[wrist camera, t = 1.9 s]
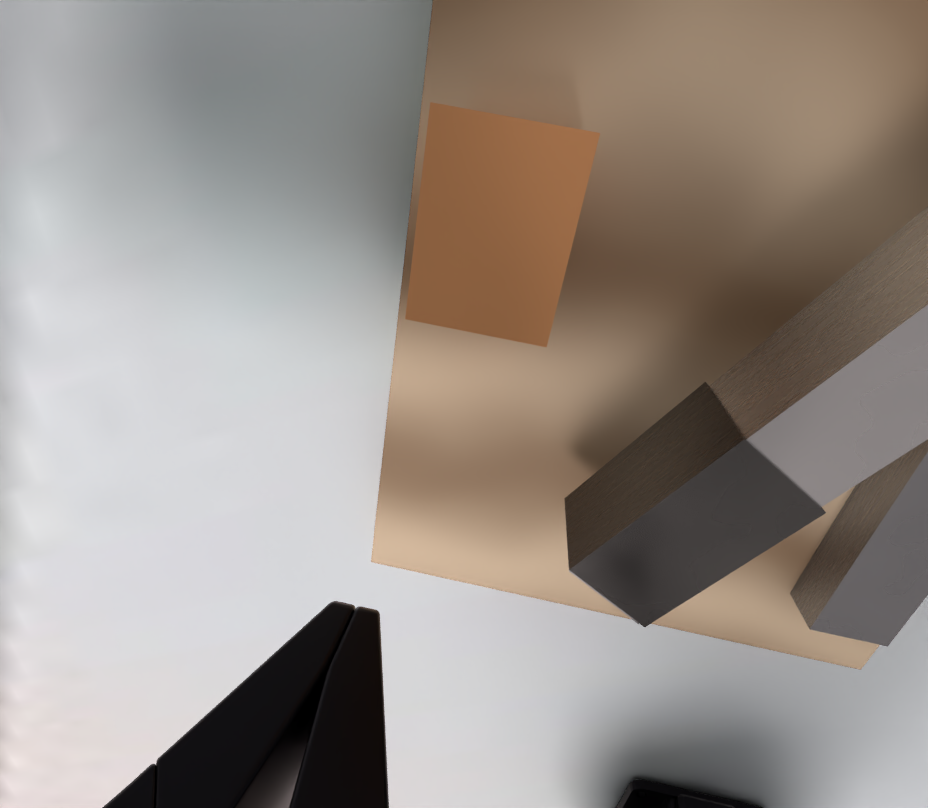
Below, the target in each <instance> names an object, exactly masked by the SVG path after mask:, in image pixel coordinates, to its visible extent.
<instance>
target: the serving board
mask: <svg viewBox="0 0 928 808" xmlns="http://www.w3.org/2000/svg"><path fill="white" fill-rule="evenodd" d="M430 102H433V103H438V104H444V105H449V106H455V107H460V108H466V109H471V110H477V111H482V112H488V113H493V114H499V115H504V116H510V117H515V118H520V119H526V120H531V121H537V122H542V123H548V124H553V125H559V126H564V127H570V128H575V129H581V130H586V131H592V132H597V133H600V136H599V140H598V144H597V148H596V152H595V156H594V160H593V164H592V168H591V172H590V176H589V180H588V184H587V188H586V192H585V196H584V200H583V204H582V208H581V212H580V216H579V220H578V224H577V228H576V232H575V236H574V240H573V244H572V248H571V252H570V256H569V260H568V264H567V268H566V272H565V276H564V280H563V284H562V288H561V292H560V296H559V300H558V304H557V308H556V312H555V316H554V320H553V324H552V328H551V332H550V336H549V340H548V344H547V347H542V346H537V345H532V344H527V343H522V342H517V341H512V340H507V339H502V338H497V337H492V336H487V335H482V334H477V333H472V332H467V331H462V330H457V329H452V328H447V327H442V326H437V325H432V324H427V323H422V322H417V321H412V320H407V319H405V315H406V307H407V298H408V290H409V281H410V273H411V264H412V255H413V247H414V238H415V230H416V221H417V212H418V204H419V195H420V187H421V178H422V170H423V161H424V152H425V144H426V135H427V127H428V118H429V110H430ZM927 207H928V0H433V4H432V13H431V22H430V31H429V40H428V49H427V59H426V68H425V77H424V86H423V95H422V104H421V113H420V122H419V131H418V140H417V149H416V158H415V168H414V177H413V186H412V195H411V204H410V213H409V222H408V231H407V240H406V249H405V258H404V267H403V277H402V286H401V295H400V304H399V313H398V322H397V331H396V340H395V349H394V358H393V367H392V376H391V385H390V395H389V404H388V413H387V422H386V431H385V440H384V449H383V458H382V467H381V476H380V485H379V494H378V504H377V513H376V522H375V531H374V540H373V549H372V558H371V562H374V563H378V564H383V565H387V566H392V567H396V568H401V569H406V570H410V571H415V572H419V573H424V574H428V575H433V576H437V577H442V578H446V579H451V580H455V581H460V582H465V583H469V584H474V585H478V586H483V587H487V588H492V589H496V590H501V591H505V592H510V593H515V594H519V595H524V596H528V597H533V598H537V599H542V600H546V601H551V602H555V603H560V604H565V605H569V606H574V607H578V608H583V609H587V610H592V611H596V612H601V613H605V614H610V615H614V616H619V617H624V618H628V619H631V618H630V617H628V616H627V615H626V614H624V613H623V612H622V611H621V610H619V609H618V608H617V607H615V606H614V605H613V604H611V603H610V602H609V601H607V600H606V599H605V598H603V597H602V596H601V595H599V594H598V593H597V592H595V591H594V590H593V589H591V588H590V587H589V586H588V585H586V584H585V583H584V582H582V581H581V580H580V579H578V578H577V577H576V576H574V575H573V574H572V573H570V572H569V564H568V549H567V533H566V518H565V499H564V498H565V497H567V496H568V495H569V494H570V493H572V492H573V491H574V490H575V489H576V488H578V487H579V486H580V485H581V484H582V483H584V482H585V481H586V480H587V479H588V478H590V477H591V476H592V475H593V474H594V473H596V472H597V471H598V470H599V469H601V468H602V467H603V466H604V465H605V464H607V463H608V462H609V461H610V460H611V459H613V458H614V457H615V456H616V455H617V454H619V453H620V452H621V451H622V450H623V449H625V448H626V447H627V446H628V445H630V444H631V443H632V442H633V441H634V440H636V439H637V438H638V437H639V436H640V435H642V434H643V433H644V432H645V431H646V430H648V429H649V428H650V427H651V426H652V425H654V424H655V423H656V422H657V421H659V420H660V419H661V418H662V417H663V416H665V415H666V414H667V413H668V412H669V411H671V410H672V409H673V408H674V407H675V406H677V405H678V404H679V403H680V402H681V401H683V400H684V399H685V398H686V397H688V396H689V395H690V394H691V393H692V392H694V391H695V390H696V389H697V388H698V387H700V386H701V385H702V384H703V383H704V382H706V383H707V384H708V385H709V386H710V385H711V384H712V383H713V382H714V381H716V380H717V379H718V378H719V377H721V376H722V375H723V374H724V373H725V372H727V371H728V370H729V369H730V368H732V367H733V366H734V365H735V364H736V363H738V362H739V361H740V360H741V359H743V358H744V357H745V356H746V355H747V354H749V353H750V352H751V351H752V350H753V349H755V348H756V347H757V346H758V345H760V344H761V343H762V342H763V341H764V340H766V339H767V338H768V337H769V336H771V335H772V334H773V333H774V332H775V331H777V330H778V329H779V328H780V327H782V326H783V325H784V324H785V323H786V322H788V321H789V320H790V319H791V318H792V317H794V316H795V315H796V314H797V313H799V312H800V311H801V310H802V309H803V308H805V307H806V306H807V305H808V304H810V303H811V302H812V301H813V300H814V299H816V298H817V297H818V296H819V295H821V294H822V293H823V292H824V291H825V290H827V289H828V288H829V287H830V286H831V285H833V284H834V283H835V282H836V281H838V280H839V279H840V278H841V277H842V276H844V275H845V274H846V273H847V272H849V271H850V270H851V269H852V268H853V267H855V266H856V265H857V264H858V263H860V262H861V261H862V260H863V259H864V258H866V257H867V256H868V255H869V254H870V253H872V252H873V251H874V250H875V249H877V248H878V247H879V246H880V245H881V244H883V243H884V242H885V241H886V240H888V239H889V238H890V237H891V236H892V235H894V234H895V233H896V232H897V231H899V230H900V229H901V228H902V227H903V226H905V225H906V224H907V223H908V222H909V221H911V220H912V219H913V218H914V217H916V216H917V215H918V214H919V213H920V212H922V211H923V210H924V209H925V208H927ZM855 486H856V485H855ZM855 486H854V487H852V488H851V489H849V490H847V491H846V492H844V493H843V494H841V495H840V496H838V497H836V498H835V499H833V500H832V501H830V502H829V503H827V504H826V505H824V506H822V508H823V509H824V511H825V512H826V513H825V514H824V515H822V516H821V517H819V518H817V519H816V520H814V521H813V522H811V523H810V524H808V525H806V526H805V527H803V528H802V529H800V530H798V531H797V532H795V533H794V534H792V535H790V536H789V537H787V538H786V539H784V540H783V541H781V542H779V543H778V544H776V545H775V546H773V547H771V548H770V549H768V550H767V551H765V552H763V553H762V554H760V555H759V556H757V557H756V558H754V559H752V560H751V561H749V562H748V563H746V564H744V565H743V566H741V567H740V568H738V569H737V570H735V571H733V572H732V573H730V574H729V575H727V576H725V577H724V578H722V579H721V580H719V581H717V582H716V583H714V584H713V585H711V586H710V587H708V588H706V589H705V590H703V591H702V592H700V593H698V594H697V595H695V596H694V597H692V598H690V599H689V600H687V601H686V602H684V603H683V604H681V605H679V606H678V607H676V608H675V609H673V610H671V611H670V612H668V613H667V614H665V615H664V616H662V617H660V618H659V619H657V620H656V621H654V622H652V623H651V624H655V625H660V626H664V627H669V628H674V629H678V630H683V631H687V632H692V633H696V634H701V635H705V636H710V637H714V638H719V639H724V640H728V641H733V642H737V643H742V644H746V645H751V646H755V647H760V648H764V649H769V650H773V651H778V652H783V653H787V654H792V655H796V656H801V657H805V658H810V659H814V660H819V661H823V662H828V663H833V664H837V665H842V666H846V667H851V668H855V669H860V670H861V669H862V667H863V666H864V665H865V663H866V662H867V661H868V660H869V658H870V657H871V656H872V654H873V653H874V652H875V650H876V649H877V648H878V647H879V644H874V643H870V642H865V641H860V640H856V639H851V638H847V637H842V636H837V635H833V634H828V633H824V632H819V631H814V630H810V629H809V627H808V626H807V624H806V622H805V620H804V618H803V616H802V615H801V613H800V611H799V609H798V607H797V606H796V604H795V602H794V600H793V598H792V596H791V595H790V592H791V590H792V589H793V587H794V586H795V584H796V582H797V581H798V579H799V577H800V576H801V574H802V572H803V571H804V569H805V568H806V566H807V564H808V563H809V561H810V559H811V558H812V556H813V554H814V553H815V551H816V550H817V548H818V546H819V545H820V543H821V541H822V540H823V538H824V537H825V535H826V533H827V532H828V530H829V528H830V527H831V525H832V523H833V522H834V520H835V519H836V517H837V515H838V514H839V512H840V510H841V509H842V507H843V506H844V504H845V502H846V501H847V499H848V497H849V496H850V494H851V492H852V491H853V489H854V488H855Z"/></svg>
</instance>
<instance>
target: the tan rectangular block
mask: <svg viewBox="0 0 928 808" xmlns="http://www.w3.org/2000/svg"><path fill="white" fill-rule="evenodd" d="M599 136H600V133H597V132H592V131H586V130H581V129H575V128H570V127H564V126H559V125H553V124H548V123H542V122H537V121H531V120H526V119H520V118H515V117H510V116H504V115H499V114H493V113H488V112H482V111H477V110H471V109H466V108H460V107H455V106H449V105H444V104H438V103H433V102H430V110H429V118H428V127H427V135H426V144H425V152H424V161H423V170H422V178H421V187H420V195H419V204H418V212H417V221H416V230H415V238H414V247H413V255H412V264H411V273H410V281H409V290H408V298H407V307H406V315H405V319H407V320H412V321H417V322H422V323H427V324H432V325H437V326H442V327H447V328H452V329H457V330H462V331H467V332H472V333H477V334H482V335H487V336H492V337H497V338H502V339H507V340H512V341H517V342H522V343H527V344H532V345H537V346H542V347H547V344H548V340H549V336H550V332H551V328H552V324H553V320H554V316H555V312H556V308H557V304H558V300H559V296H560V292H561V288H562V284H563V280H564V276H565V272H566V268H567V264H568V260H569V256H570V252H571V248H572V244H573V240H574V236H575V232H576V228H577V224H578V220H579V216H580V212H581V208H582V204H583V200H584V196H585V192H586V188H587V184H588V180H589V176H590V172H591V168H592V164H593V160H594V156H595V152H596V148H597V144H598V140H599Z"/></svg>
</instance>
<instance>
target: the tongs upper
mask: <svg viewBox="0 0 928 808" xmlns="http://www.w3.org/2000/svg"><path fill="white" fill-rule="evenodd" d="M927 439H928V207H927V208H925V209H924V210H923V211H922V212H920V213H919V214H918V215H917V216H916V217H914V218H913V219H912V220H911V221H909V222H908V223H907V224H906V225H905V226H903V227H902V228H901V229H900V230H899V231H897V232H896V233H895V234H894V235H892V236H891V237H890V238H889V239H888V240H886V241H885V242H884V243H883V244H881V245H880V246H879V247H878V248H877V249H875V250H874V251H873V252H872V253H870V254H869V255H868V256H867V257H866V258H864V259H863V260H862V261H861V262H860V263H858V264H857V265H856V266H855V267H853V268H852V269H851V270H850V271H849V272H847V273H846V274H845V275H844V276H842V277H841V278H840V279H839V280H838V281H836V282H835V283H834V284H833V285H831V286H830V287H829V288H828V289H827V290H825V291H824V292H823V293H822V294H821V295H819V296H818V297H817V298H816V299H814V300H813V301H812V302H811V303H810V304H808V305H807V306H806V307H805V308H803V309H802V310H801V311H800V312H799V313H797V314H796V315H795V316H794V317H792V318H791V319H790V320H789V321H788V322H786V323H785V324H784V325H783V326H782V327H780V328H779V329H778V330H777V331H775V332H774V333H773V334H772V335H771V336H769V337H768V338H767V339H766V340H764V341H763V342H762V343H761V344H760V345H758V346H757V347H756V348H755V349H753V350H752V351H751V352H750V353H749V354H747V355H746V356H745V357H744V358H743V359H741V360H740V361H739V362H738V363H736V364H735V365H734V366H733V367H732V368H730V369H729V370H728V371H727V372H725V373H724V374H723V375H722V376H721V377H719V378H718V379H717V380H716V381H714V382H713V383H712V384H711V385H710V386H709V385H708V384H707V383H706V382H704V383H703V384H702V385H701V386H700V387H698V388H697V389H696V390H695V391H694V392H692V393H691V394H690V395H689V396H688V397H686V398H685V399H684V400H683V401H681V402H680V403H679V404H678V405H677V406H675V407H674V408H673V409H672V410H671V411H669V412H668V413H667V414H666V415H665V416H663V417H662V418H661V419H660V420H659V421H657V422H656V423H655V424H654V425H652V426H651V427H650V428H649V429H648V430H646V431H645V432H644V433H643V434H642V435H640V436H639V437H638V438H637V439H636V440H634V441H633V442H632V443H631V444H630V445H628V446H627V447H626V448H625V449H623V450H622V451H621V452H620V453H619V454H617V455H616V456H615V457H614V458H613V459H611V460H610V461H609V462H608V463H607V464H605V465H604V466H603V467H602V468H601V469H599V470H598V471H597V472H596V473H594V474H593V475H592V476H591V477H590V478H588V479H587V480H586V481H585V482H584V483H582V484H581V485H580V486H579V487H578V488H576V489H575V490H574V491H573V492H572V493H570V494H569V495H568V496H567V497H565V498H564V499H565V518H566V533H567V549H568V564H569V572H570V573H572V574H573V575H574V576H576V577H577V578H578V579H580V580H581V581H582V582H584V583H585V584H586V585H588V586H589V587H590V588H591V589H593V590H594V591H595V592H597V593H598V594H599V595H601V596H602V597H603V598H605V599H606V600H607V601H609V602H610V603H611V604H613V605H614V606H615V607H617V608H618V609H619V610H621V611H622V612H623V613H624V614H626V615H627V616H628V617H630V618H631V619H632V620H634V621H635V622H636V623H638V624H639V623H640V624H641V625H642V626H644V627H646V626H648V625H649V624H651V623H652V622H654V621H656V620H657V619H659V618H660V617H662V616H664V615H665V614H667V613H668V612H670V611H671V610H673V609H675V608H676V607H678V606H679V605H681V604H683V603H684V602H686V601H687V600H689V599H690V598H692V597H694V596H695V595H697V594H698V593H700V592H702V591H703V590H705V589H706V588H708V587H710V586H711V585H713V584H714V583H716V582H717V581H719V580H721V579H722V578H724V577H725V576H727V575H729V574H730V573H732V572H733V571H735V570H737V569H738V568H740V567H741V566H743V565H744V564H746V563H748V562H749V561H751V560H752V559H754V558H756V557H757V556H759V555H760V554H762V553H763V552H765V551H767V550H768V549H770V548H771V547H773V546H775V545H776V544H778V543H779V542H781V541H783V540H784V539H786V538H787V537H789V536H790V535H792V534H794V533H795V532H797V531H798V530H800V529H802V528H803V527H805V526H806V525H808V524H810V523H811V522H813V521H814V520H816V519H817V518H819V517H821V516H822V515H824V514H825V513H826V512H825V511H824V509H823V508H822V506H824V505H826V504H827V503H829V502H830V501H832V500H833V499H835V498H836V497H838V496H840V495H841V494H843V493H844V492H846V491H847V490H849V489H851V488H852V487H854V486H855V485H857V484H858V483H860V482H862V481H863V480H865V479H866V478H868V477H869V476H871V475H873V474H874V473H876V472H877V471H879V470H880V469H882V468H884V467H885V466H887V465H888V464H890V463H891V462H893V461H894V460H896V459H898V458H899V457H901V456H902V455H904V454H905V453H907V452H909V451H910V450H912V449H913V448H915V447H916V446H918V445H920V444H921V443H923V442H924V441H926V440H927Z"/></svg>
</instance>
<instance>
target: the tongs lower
mask: <svg viewBox="0 0 928 808" xmlns="http://www.w3.org/2000/svg"><path fill="white" fill-rule="evenodd" d="M790 595H791V596H792V598H793V600H794V602H795V604H796V606H797V607H798V609H799V611H800V613H801V615H802V616H803V618H804V620H805V622H806V624H807V626H808V627H809V629H810V630H814V631H819V632H824V633H828V634H833V635H837V636H842V637H847V638H851V639H856V640H860V641H865V642H870V643H874V644H879V645H883V646H888V645H889V644H890V642H891V641H892V640H893V639H894V637H895V636H896V635H897V633H898V632H899V631H900V630H901V628H902V627H903V626H904V624H905V623H906V622H907V621H908V619H909V618H910V617H911V615H912V614H913V613H914V612H915V610H916V609H917V608H918V606H919V605H920V604H921V603H922V601H923V600H924V599H925V597H926V596H927V595H928V439H927V440H926V441H924V442H923V443H921V444H920V445H918V446H916V447H915V448H913V449H912V450H910V451H909V452H907V453H905V454H904V455H902V456H901V457H899V458H898V459H896V460H894V461H893V462H891V463H890V464H888V465H887V466H885V467H884V468H882V469H880V470H879V471H877V472H876V473H874V474H873V475H871V476H869V477H868V478H866V479H865V480H863V481H862V482H860V483H858V484H857V485H856V486H855V488H854V489H853V491H852V492H851V494H850V496H849V497H848V499H847V501H846V502H845V504H844V506H843V507H842V509H841V510H840V512H839V514H838V515H837V517H836V519H835V520H834V522H833V523H832V525H831V527H830V528H829V530H828V532H827V533H826V535H825V537H824V538H823V540H822V541H821V543H820V545H819V546H818V548H817V550H816V551H815V553H814V554H813V556H812V558H811V559H810V561H809V563H808V564H807V566H806V568H805V569H804V571H803V572H802V574H801V576H800V577H799V579H798V581H797V582H796V584H795V586H794V587H793V589H792V590H791V592H790Z"/></svg>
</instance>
